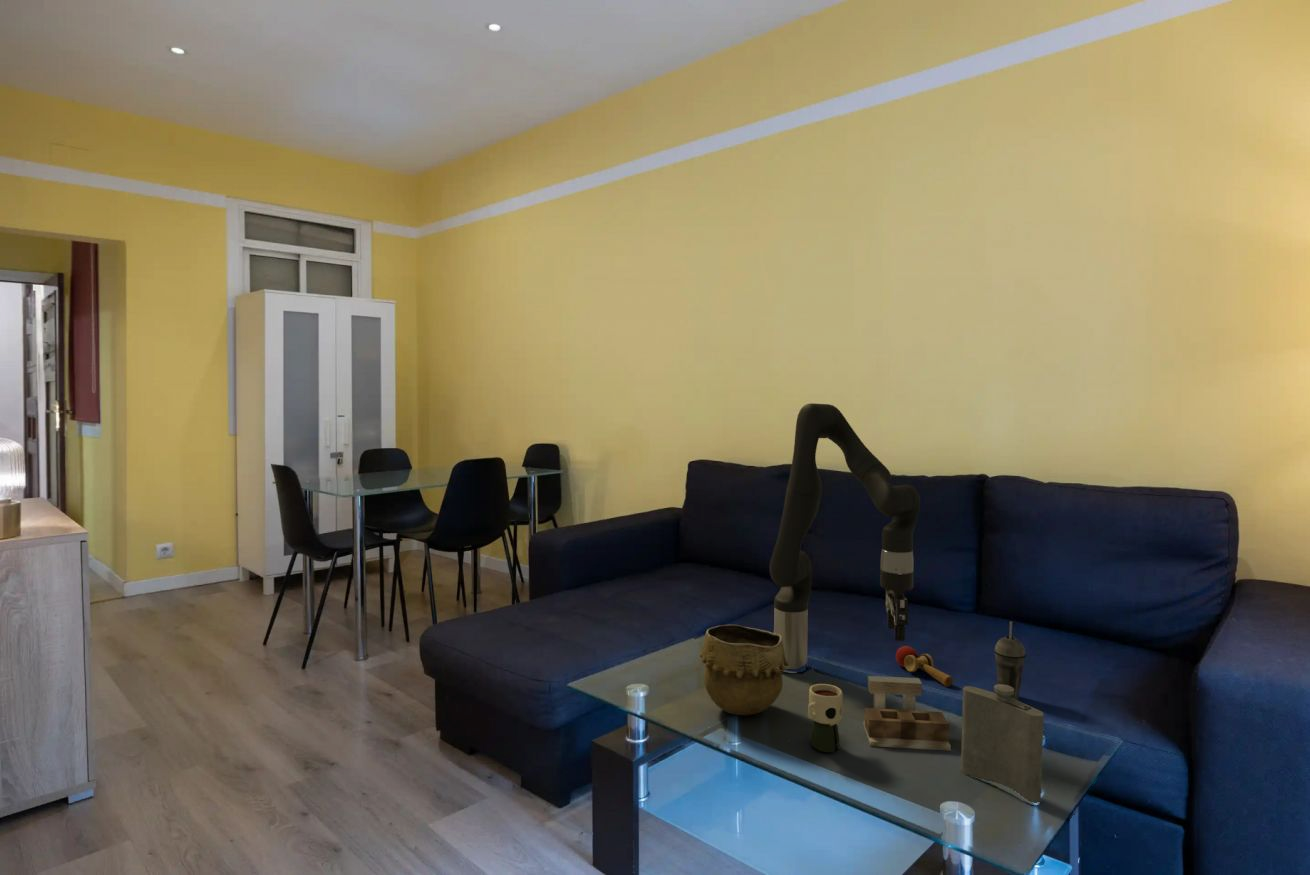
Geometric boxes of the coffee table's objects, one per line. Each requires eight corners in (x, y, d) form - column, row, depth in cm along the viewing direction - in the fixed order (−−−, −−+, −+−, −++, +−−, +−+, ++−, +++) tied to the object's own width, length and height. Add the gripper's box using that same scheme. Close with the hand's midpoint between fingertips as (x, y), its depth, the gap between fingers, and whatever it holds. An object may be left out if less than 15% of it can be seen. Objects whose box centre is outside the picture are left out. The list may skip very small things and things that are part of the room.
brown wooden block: (870, 745, 160) (870, 723, 159) (863, 724, 170) (863, 704, 169) (950, 750, 158) (951, 728, 157) (938, 729, 167) (939, 708, 167)
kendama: (960, 688, 194) (909, 656, 209) (960, 667, 192) (909, 637, 208) (938, 698, 190) (889, 665, 206) (939, 677, 189) (889, 646, 204)
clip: (869, 713, 176) (870, 681, 175) (867, 707, 179) (868, 675, 178) (921, 716, 174) (921, 683, 174) (918, 710, 177) (918, 678, 177)
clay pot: (736, 685, 192) (736, 612, 191) (804, 711, 177) (805, 631, 176) (682, 710, 177) (682, 630, 176) (751, 740, 162) (751, 653, 161)
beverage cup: (1024, 694, 186) (1026, 617, 185) (1025, 705, 180) (1027, 626, 178) (992, 689, 189) (994, 614, 188) (992, 700, 183) (995, 622, 181)
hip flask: (957, 771, 149) (960, 676, 148) (968, 765, 152) (971, 672, 150) (1035, 807, 136) (1038, 704, 135) (1046, 800, 139) (1049, 698, 137)
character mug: (821, 762, 153) (822, 702, 152) (795, 748, 159) (796, 691, 158) (853, 746, 159) (855, 689, 159) (828, 734, 165) (829, 678, 164)
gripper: (875, 560, 182) (874, 624, 183) (886, 575, 167) (885, 644, 169) (906, 561, 181) (905, 625, 182) (920, 576, 166) (918, 645, 168)
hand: (895, 634), depth 175 cm, fingers open, 8 cm apart
